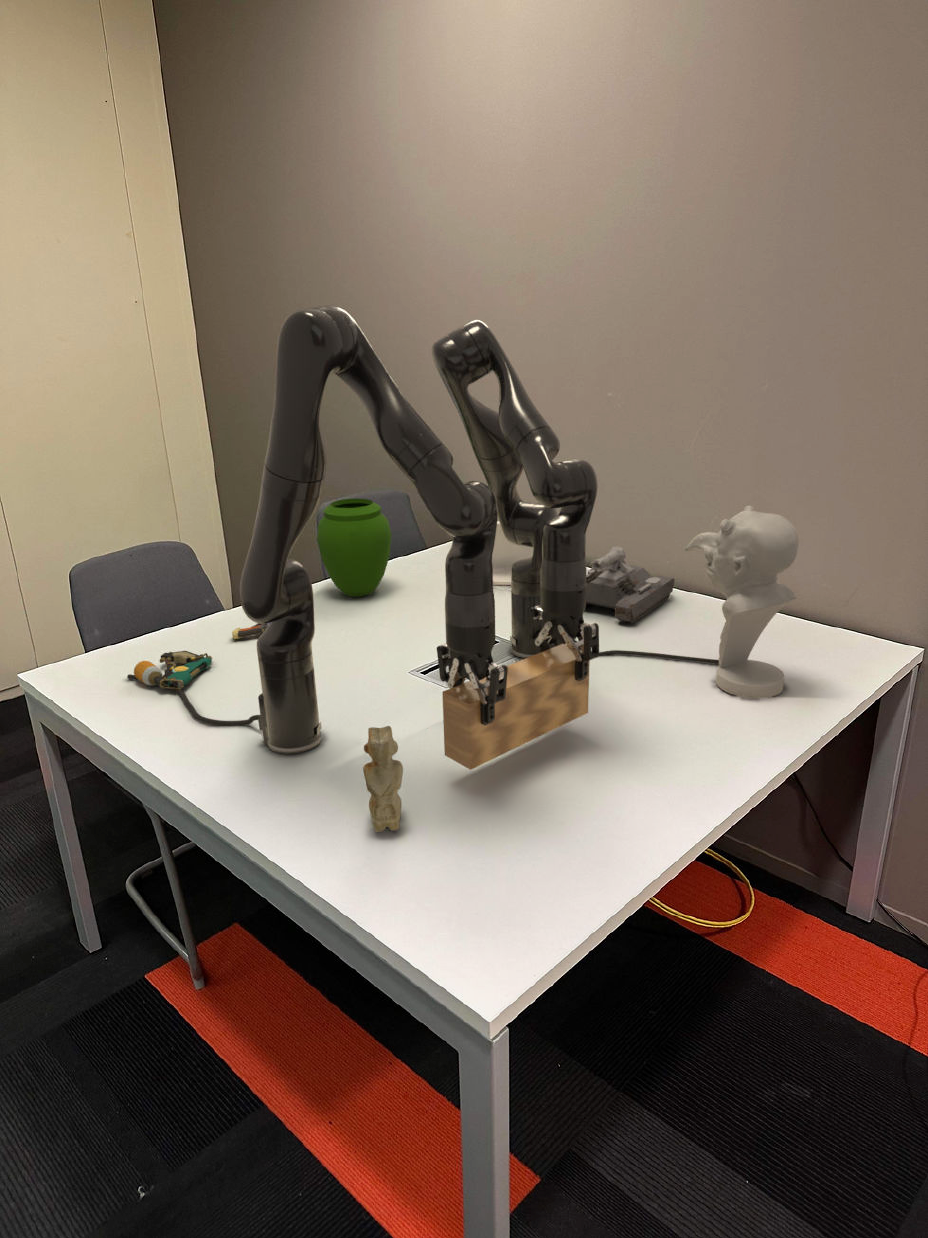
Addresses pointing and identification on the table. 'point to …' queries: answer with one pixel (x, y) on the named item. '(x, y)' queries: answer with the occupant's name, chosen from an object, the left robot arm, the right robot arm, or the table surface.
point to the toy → (625, 587)
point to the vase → (354, 545)
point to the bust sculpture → (748, 593)
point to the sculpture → (383, 778)
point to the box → (515, 708)
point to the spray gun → (172, 669)
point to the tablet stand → (506, 557)
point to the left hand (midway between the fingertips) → (472, 715)
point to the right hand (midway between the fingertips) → (561, 672)
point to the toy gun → (249, 631)
